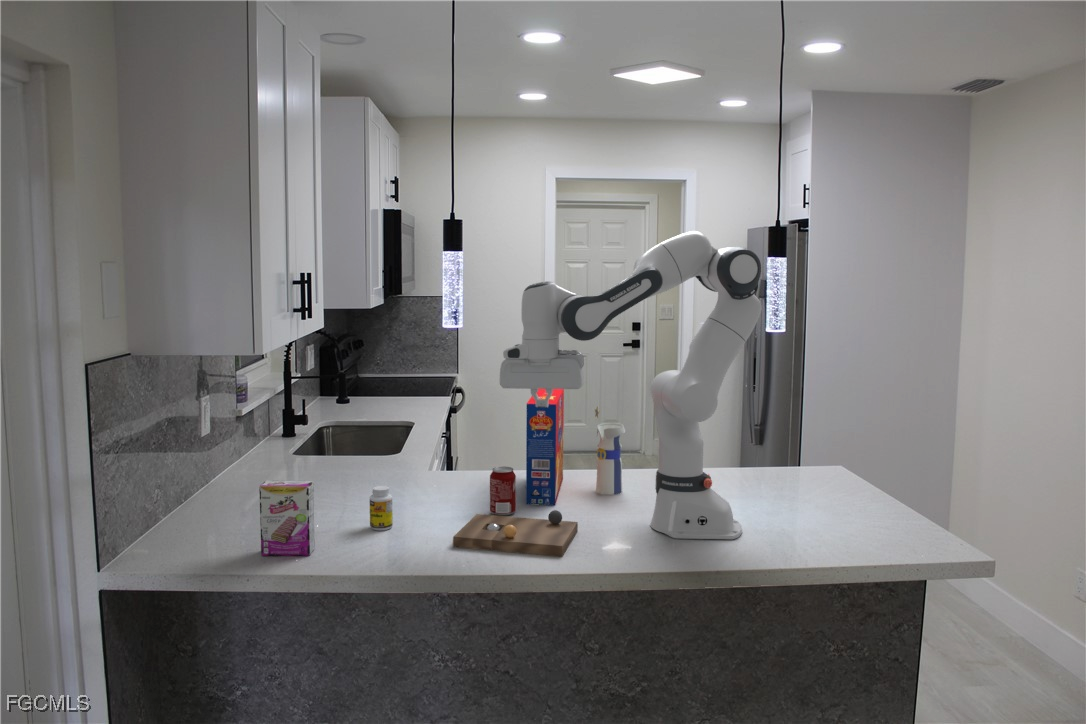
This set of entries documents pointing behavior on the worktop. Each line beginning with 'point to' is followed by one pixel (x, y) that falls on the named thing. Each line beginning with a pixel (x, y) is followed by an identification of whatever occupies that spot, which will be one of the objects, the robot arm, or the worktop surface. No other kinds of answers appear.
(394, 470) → the worktop surface
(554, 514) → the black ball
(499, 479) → the soda can
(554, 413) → the pasta box
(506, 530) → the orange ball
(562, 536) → the board
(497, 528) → the steel ball
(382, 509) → the supplement bottle
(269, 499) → the candy bar box
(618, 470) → the white tall bottle
